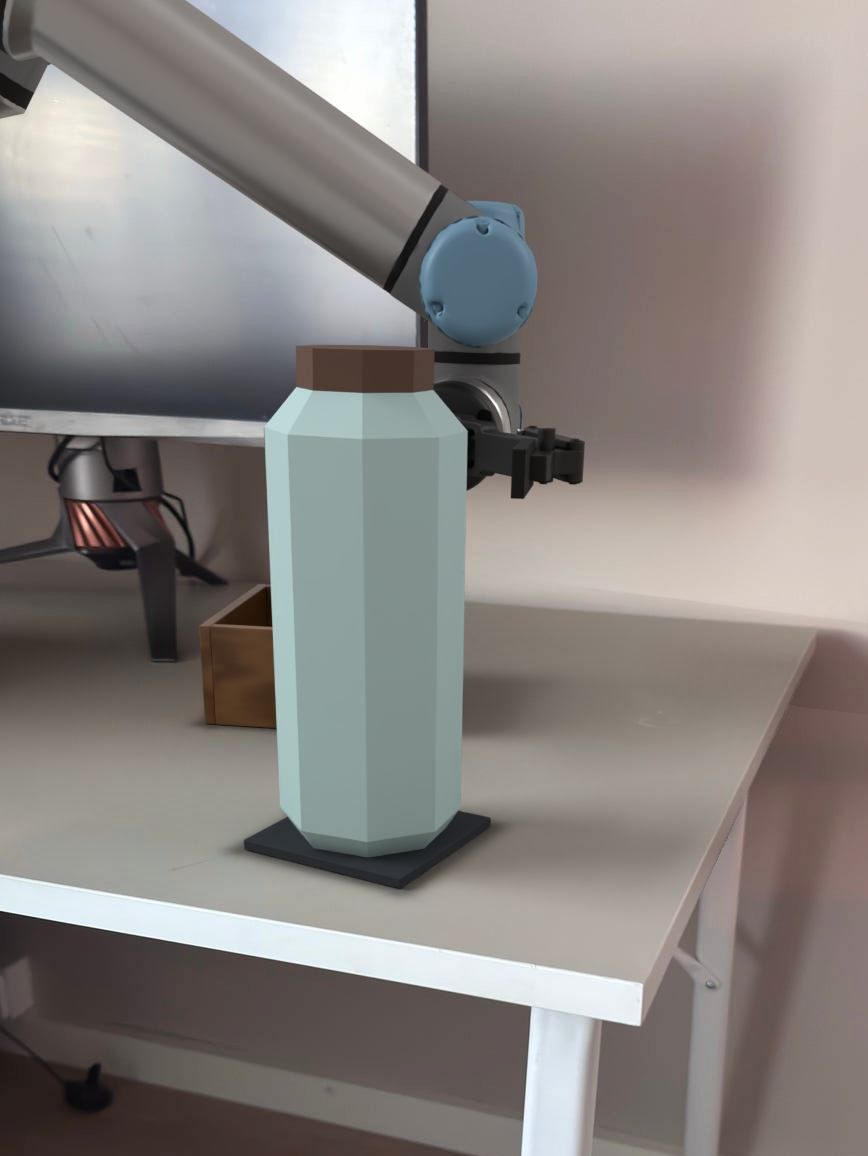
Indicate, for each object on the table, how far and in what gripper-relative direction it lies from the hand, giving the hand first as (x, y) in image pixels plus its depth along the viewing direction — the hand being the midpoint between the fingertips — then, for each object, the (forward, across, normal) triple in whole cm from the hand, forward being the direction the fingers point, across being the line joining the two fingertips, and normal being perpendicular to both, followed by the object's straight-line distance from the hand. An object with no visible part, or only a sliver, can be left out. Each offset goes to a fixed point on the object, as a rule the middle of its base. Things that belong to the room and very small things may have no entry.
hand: (399, 468), depth 73 cm
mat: (+10, 0, -19) cm, 21 cm away
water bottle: (+10, 0, -18) cm, 21 cm away
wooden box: (-16, +8, -19) cm, 26 cm away
